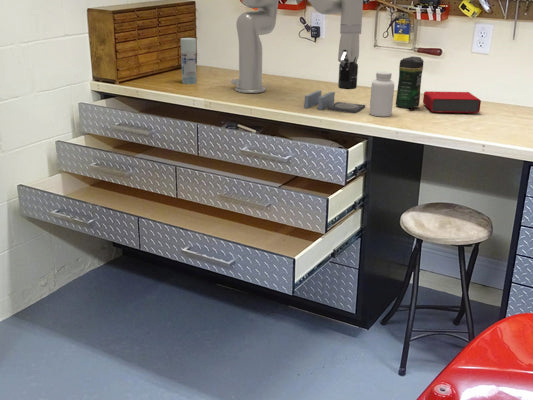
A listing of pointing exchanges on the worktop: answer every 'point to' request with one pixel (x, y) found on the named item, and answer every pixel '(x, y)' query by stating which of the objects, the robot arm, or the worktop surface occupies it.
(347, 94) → the worktop surface
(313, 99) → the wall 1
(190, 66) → the tall grey product box
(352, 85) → the supplement bottle
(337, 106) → the mat
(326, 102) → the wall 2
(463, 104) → the red device housing
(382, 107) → the pill bottle
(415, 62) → the coffee jar
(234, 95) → the worktop surface
